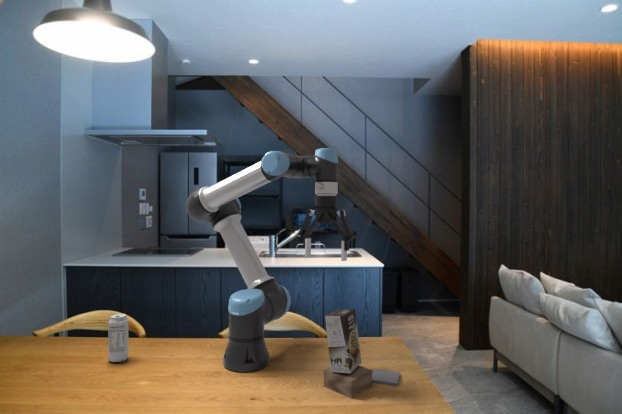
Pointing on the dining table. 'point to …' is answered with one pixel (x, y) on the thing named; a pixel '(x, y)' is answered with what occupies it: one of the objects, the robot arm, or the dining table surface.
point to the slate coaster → (385, 377)
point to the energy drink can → (118, 337)
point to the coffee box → (343, 340)
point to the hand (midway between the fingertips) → (325, 259)
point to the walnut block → (348, 381)
